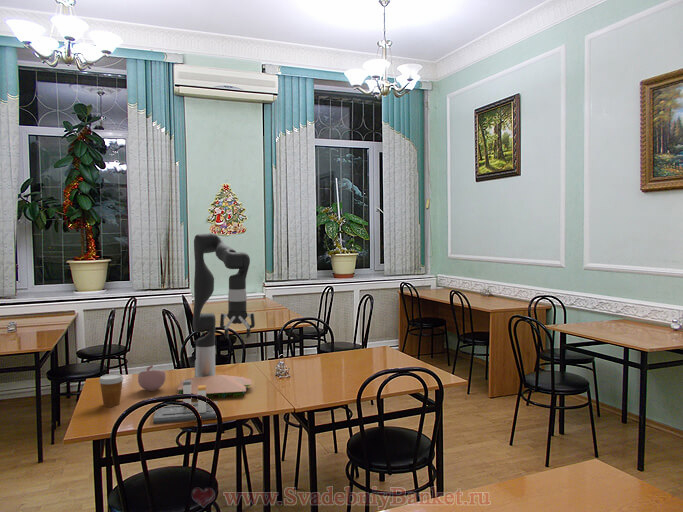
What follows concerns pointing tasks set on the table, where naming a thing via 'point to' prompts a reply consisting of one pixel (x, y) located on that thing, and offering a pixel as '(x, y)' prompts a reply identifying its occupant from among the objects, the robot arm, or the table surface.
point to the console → (181, 413)
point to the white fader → (187, 390)
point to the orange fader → (200, 403)
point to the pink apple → (151, 379)
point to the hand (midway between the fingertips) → (237, 337)
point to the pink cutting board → (218, 384)
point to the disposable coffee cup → (111, 389)
